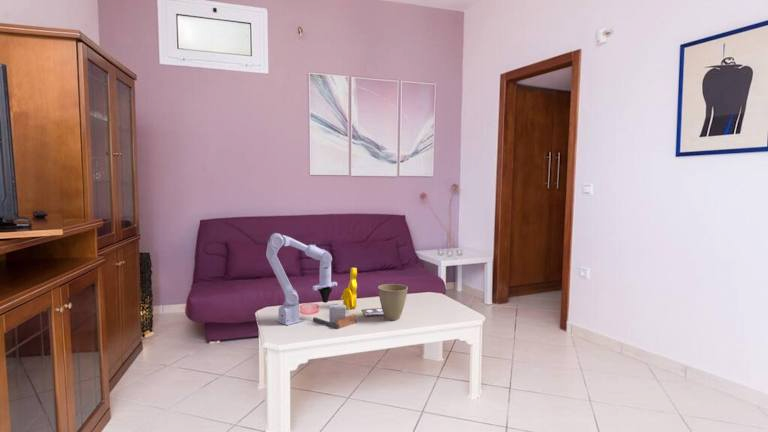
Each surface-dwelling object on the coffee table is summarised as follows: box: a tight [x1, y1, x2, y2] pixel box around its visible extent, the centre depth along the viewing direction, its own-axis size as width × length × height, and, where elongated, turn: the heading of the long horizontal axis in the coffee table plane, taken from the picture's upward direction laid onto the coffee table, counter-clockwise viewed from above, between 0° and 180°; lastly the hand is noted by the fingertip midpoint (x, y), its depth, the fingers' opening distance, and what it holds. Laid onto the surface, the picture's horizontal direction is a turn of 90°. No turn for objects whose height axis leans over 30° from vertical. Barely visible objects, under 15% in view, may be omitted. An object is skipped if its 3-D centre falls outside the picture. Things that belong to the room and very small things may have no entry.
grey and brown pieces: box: [312, 314, 358, 330], centre depth 214 cm, size 12×18×4 cm
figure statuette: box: [340, 267, 358, 310], centre depth 238 cm, size 18×8×22 cm, turn 26°
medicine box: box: [328, 304, 347, 324], centre depth 211 cm, size 8×4×9 cm, turn 92°
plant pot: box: [377, 283, 409, 321], centre depth 220 cm, size 15×15×16 cm
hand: (325, 302), depth 218 cm, fingers closed
